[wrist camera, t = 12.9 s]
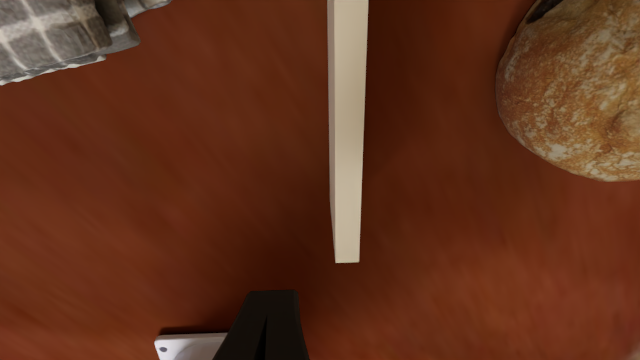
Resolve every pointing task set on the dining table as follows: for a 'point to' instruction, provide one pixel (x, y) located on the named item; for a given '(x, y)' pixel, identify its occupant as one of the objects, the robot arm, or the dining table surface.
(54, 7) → the towel
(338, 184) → the box
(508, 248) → the dining table surface
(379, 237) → the dining table surface
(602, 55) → the bread roll
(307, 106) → the dining table surface
